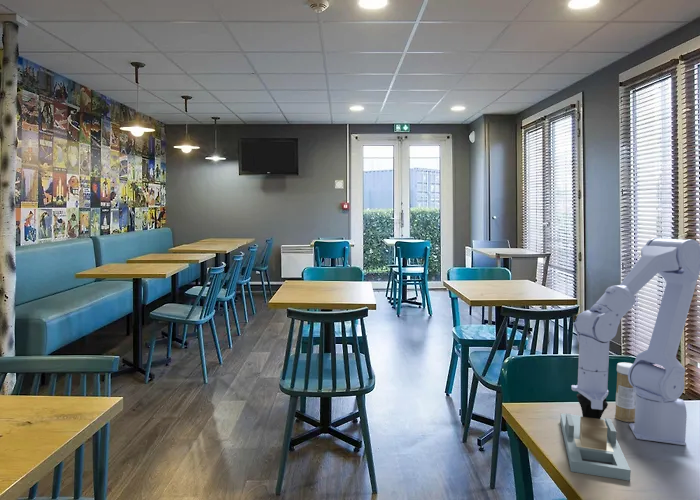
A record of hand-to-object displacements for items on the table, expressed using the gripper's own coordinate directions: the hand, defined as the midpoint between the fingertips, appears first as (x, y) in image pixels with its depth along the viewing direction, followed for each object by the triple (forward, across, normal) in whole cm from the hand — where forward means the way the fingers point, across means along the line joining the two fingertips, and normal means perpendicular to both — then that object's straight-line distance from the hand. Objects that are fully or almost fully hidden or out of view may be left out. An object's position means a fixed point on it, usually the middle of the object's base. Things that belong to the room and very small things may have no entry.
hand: (590, 430), depth 107 cm
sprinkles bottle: (+3, -18, +10) cm, 21 cm away
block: (+1, +4, 0) cm, 4 cm away
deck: (+3, +2, 0) cm, 3 cm away
